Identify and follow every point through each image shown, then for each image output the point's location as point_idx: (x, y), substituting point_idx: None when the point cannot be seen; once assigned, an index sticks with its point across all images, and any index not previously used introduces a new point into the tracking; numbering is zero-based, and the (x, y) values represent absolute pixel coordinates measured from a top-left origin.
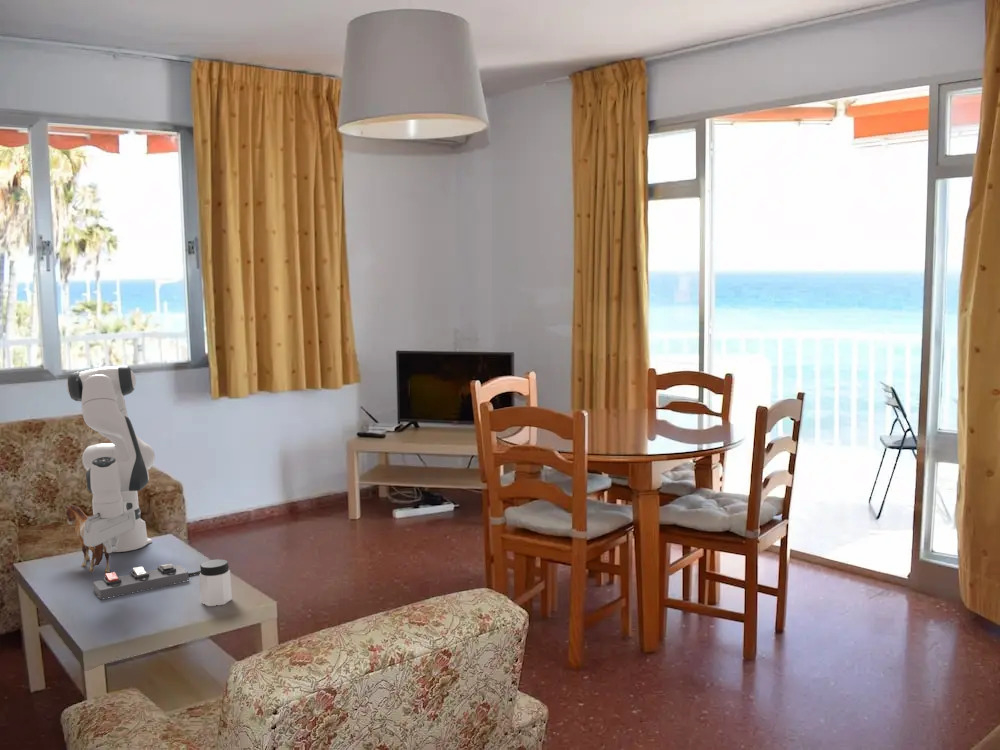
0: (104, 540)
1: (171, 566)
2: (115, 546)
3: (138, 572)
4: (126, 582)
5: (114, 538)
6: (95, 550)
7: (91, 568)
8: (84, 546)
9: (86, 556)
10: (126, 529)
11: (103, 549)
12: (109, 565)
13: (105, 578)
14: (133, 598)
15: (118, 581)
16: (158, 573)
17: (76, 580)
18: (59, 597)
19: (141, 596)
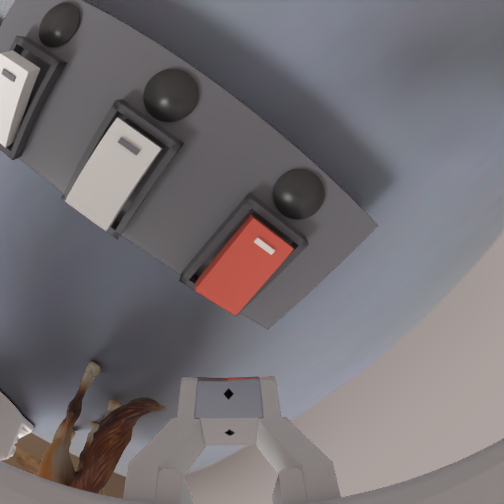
0: (447, 486)
1: (12, 54)
2: (203, 409)
3: (132, 163)
4: (241, 164)
5: (185, 492)
6: (122, 451)
7: (116, 407)
8: (82, 465)
9: (71, 438)
10: (3, 496)
11: (25, 424)
12: (83, 376)
13: None
14: (325, 60)
15: (262, 205)
16: (63, 96)
17: None
18: (337, 358)
19: (291, 37)
